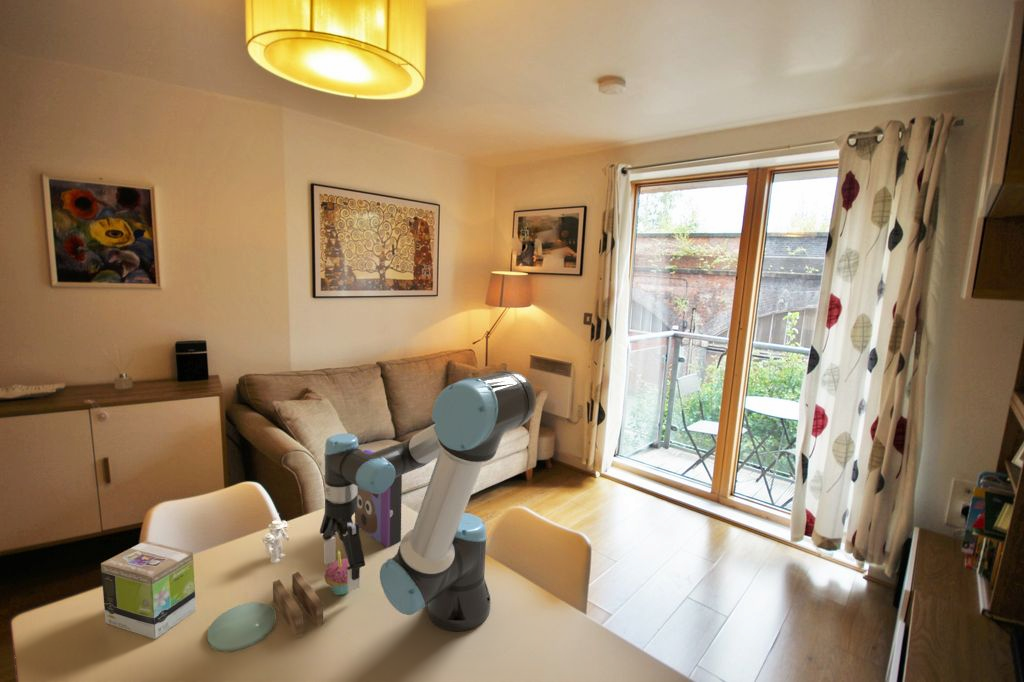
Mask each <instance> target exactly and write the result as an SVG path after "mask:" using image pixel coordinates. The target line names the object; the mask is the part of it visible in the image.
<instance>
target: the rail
mask: <svg viewBox="0 0 1024 682" xmlns="http://www.w3.org/2000/svg"><path fill="white" fill-rule="evenodd" d="M272 602H273V603H274V605H275V606H276V608H277V610H278V611H279V613H280V614H281V615H282V618H283V619H284V621H285V622H286V624H287V625H288V627H289V628H290V629H291V632H292V633H293V634H294V636H295V638H297V637H300V636H301V635H304V613H303V611H302V610H301V609H300V607H299V606H298V604H297V603H296V601H295V599H294V598H293V597H292V596H291V594H290V593H289V591H288V589H286V587H285V585H284V584H283V583H282V581H281V580H280V579H277V580H274V581H272Z"/></svg>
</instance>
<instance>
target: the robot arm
mask: <svg viewBox="0 0 1024 682" xmlns="http://www.w3.org/2000/svg"><path fill="white" fill-rule="evenodd" d="M536 394H537V393H536V390H535V388H534V386H533V383H531V381H530V380H529V379H528V378H527V377H526V376H524V375H523V374H521V373H519V372H517V371H513V370H501V371H497V372H492V373H489V374H485V375H482V376H478V377H467V378H463V379H461V380H459V381H457V382H455V383H452V384H450V385H448V386H446V387H445V388H443V390H442V391H441V392H440V393H439V394H438V396H437V397H436V399H435V401H434V404H433V407H432V412H431V420H432V422H434V424H431V425H430V426H428V427H427V428H425V429H423V430H422V431H419V432H418V433H416V434H415V435H413V436H410V437H409V438H408V439H406V440H404V441H402V442H400V443H397V444H394V445H390V446H387V447H385V448H382V449H380V450H377V451H372V452H373V453H367V452H365V451H364V450H363V449H359V445H360V444H359V439H358V436H357V435H355V434H352V433H337V434H334V435H331V436H329V437H328V438H327V439H326V440H325V446H324V447H325V448H324V449H325V450H324V455H323V456H324V481H325V482H324V483H325V484H324V486H325V487H324V489H323V493H324V495H325V496H324V497H325V499H324V515H323V517H322V518H323V519H322V522H321V525H320V529H319V533H320V535H322V538H323V564H324V565H327V564H328V565H329V564H331V563H333V562H335V561H336V537H335V536H336V535H337V534H338V538H339V540H340V541H342V544H343V547H344V551H345V553H346V559H348V562H349V566H348V568H347V569H348V588H347V591H348V593H351V592H352V591H353V592H354V591H355V590H358V589H359V588H360V585H361V584H360V575H361V574H360V573H361V568H363V567H365V565H366V562H365V557H364V552H363V546H362V542H361V541H362V540H361V537H360V528H359V525H358V524H355V523H354V522H353V519H352V518H353V516H354V515H355V512H356V511H357V494H358V487H360V488H361V489H362V490H365V491H369V492H371V493H374V494H380V493H383V492H385V491H386V490H387V489H388V488H389V487H390V486H391V485H392V484H393V482H394V479H395V478H396V477H399V476H401V475H402V476H403V475H405V474H407V473H409V472H413V471H415V470H417V469H420V468H423V467H425V466H427V465H428V464H429V463H431V462H432V461H434V460H436V462H435V464H434V467H433V470H432V472H431V473H432V474H431V475H430V479H429V482H428V484H427V487H426V491H425V493H424V496H423V500H422V503H421V505H420V507H419V512H418V514H417V518H416V519H415V522H414V526H413V529H411V530H409V531H408V532H406V534H404V536H403V537H402V538H401V541H400V542H399V543H400V544H399V546H398V549H397V553H396V554H395V555H394V556H393V557H392V558H388V559H387V560H386V561H385V562H384V563H383V564H382V565H381V567H380V570H379V580H380V581H379V582H380V585H381V588H382V591H383V594H384V595H385V597H386V599H387V600H388V602H389V604H390V605H391V606H392V607H393V608H394V609H395V610H396V611H397V612H399V613H400V614H402V615H407V616H412V615H414V614H416V613H417V612H419V611H421V610H424V609H425V608H426V606H427V615H428V617H429V620H431V622H432V623H433V624H434V625H435V626H437V627H439V628H441V629H443V630H445V631H451V632H465V631H469V630H472V629H474V628H477V627H478V626H480V625H481V624H483V623H484V622H485V621H486V619H487V618H488V617H489V615H490V611H491V595H490V591H489V588H488V585H487V582H486V579H485V574H486V573H485V570H486V568H485V567H486V550H487V549H486V548H487V539H488V537H487V526H486V523H485V522H484V520H483V519H482V518H481V517H479V516H477V515H475V514H472V513H468V512H465V510H466V509H467V506H468V504H469V501H470V498H471V496H472V493H473V490H474V488H475V486H476V482H477V480H478V477H479V475H480V472H481V470H482V468H483V465H484V463H487V462H490V461H491V460H493V458H494V457H495V456H496V454H497V451H498V448H499V445H500V444H501V441H502V439H503V437H504V435H505V434H506V433H509V432H510V431H512V430H515V429H517V428H519V427H522V426H523V425H525V424H526V423H527V422H528V421H529V420H530V419H531V417H532V416H533V414H534V412H535V409H536V406H537V395H536Z"/></svg>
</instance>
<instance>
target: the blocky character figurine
mask: <svg viewBox="0 0 1024 682" xmlns="http://www.w3.org/2000/svg"><path fill="white" fill-rule="evenodd" d="M279 515H280V513H279V512H278V513H277V516H276V517H274V520H272V522H271V523H270V524H268V529H269V532H267V533H266V534H264V536H263V537H262V542H263V544H264V545H265V549H266V554H267V556H271V557H270V563H271V564H278V563H279V564H280V562H281V559H283V558H285V556H286V554H285V553H284V552H283V549H284V548H283V543H282V538H283V539H284V541H287V542H289V540H290V536H288V534H287V533H286V532H285V531H288V530H289V528H290V525H289V524H288V522H287V521H286V520H281V521H280V520H279Z"/></svg>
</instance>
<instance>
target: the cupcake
mask: <svg viewBox="0 0 1024 682" xmlns="http://www.w3.org/2000/svg"><path fill="white" fill-rule="evenodd" d="M348 566H349V562H348V558H347V557H344V558H341V551H340V549H337V560H335V561H333V562H331V563H329V564H328V566H327V567H326V568H325V570H324V576H323V577H324V581H325V583H326V584H327V585H329V586H330V589H331V590H332V592H333V594H335V595H336V596H337V595H338V596H343V595H346V594H349V592H348V591H347V588H348V569H347V568H348Z"/></svg>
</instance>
